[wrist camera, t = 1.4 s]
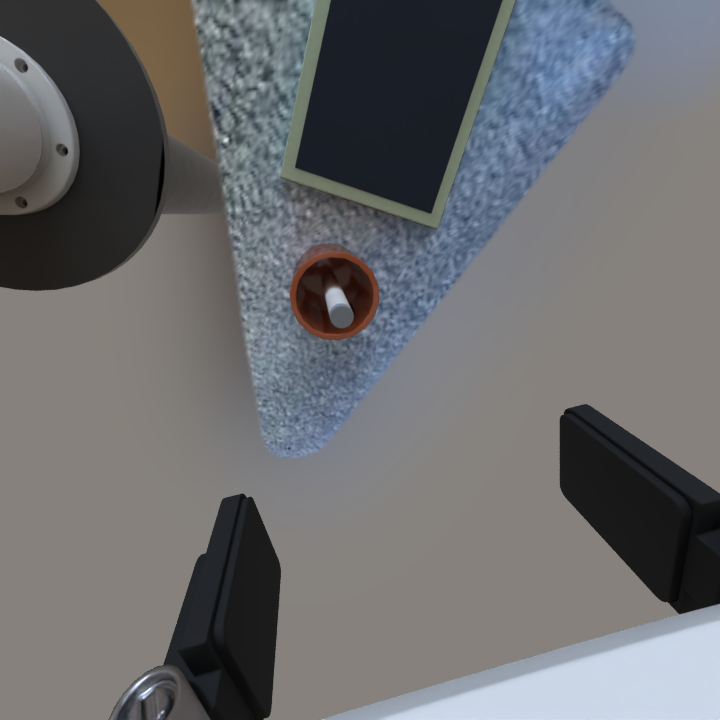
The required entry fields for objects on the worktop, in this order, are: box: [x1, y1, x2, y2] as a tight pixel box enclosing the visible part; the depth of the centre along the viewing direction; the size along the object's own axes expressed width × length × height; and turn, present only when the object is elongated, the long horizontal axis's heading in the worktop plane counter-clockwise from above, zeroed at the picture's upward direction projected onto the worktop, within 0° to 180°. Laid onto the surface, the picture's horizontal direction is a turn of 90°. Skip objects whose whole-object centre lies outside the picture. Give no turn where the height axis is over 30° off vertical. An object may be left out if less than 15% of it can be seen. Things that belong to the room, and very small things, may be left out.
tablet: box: [280, 0, 516, 229], centre depth 29 cm, size 14×18×1 cm
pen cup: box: [290, 244, 379, 340], centre depth 31 cm, size 6×6×8 cm
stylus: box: [322, 273, 354, 328], centre depth 28 cm, size 1×1×13 cm
